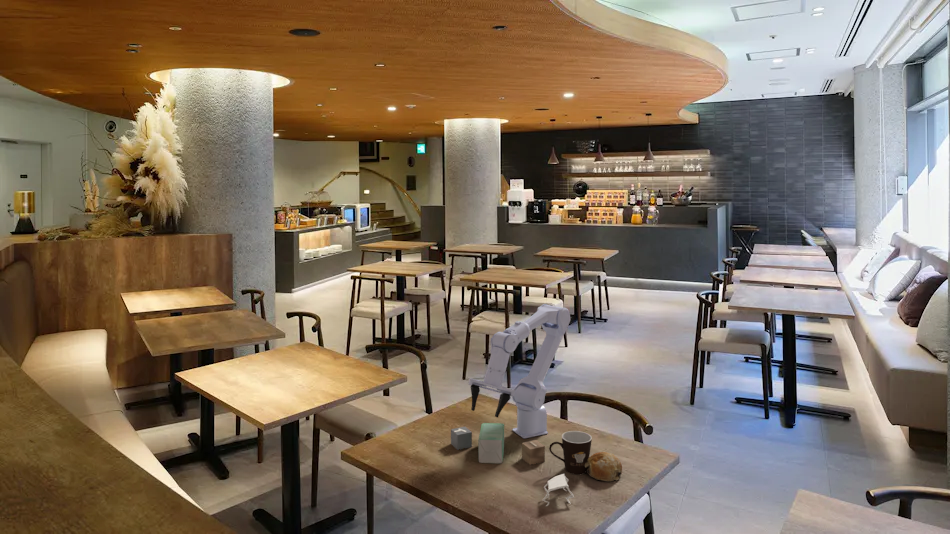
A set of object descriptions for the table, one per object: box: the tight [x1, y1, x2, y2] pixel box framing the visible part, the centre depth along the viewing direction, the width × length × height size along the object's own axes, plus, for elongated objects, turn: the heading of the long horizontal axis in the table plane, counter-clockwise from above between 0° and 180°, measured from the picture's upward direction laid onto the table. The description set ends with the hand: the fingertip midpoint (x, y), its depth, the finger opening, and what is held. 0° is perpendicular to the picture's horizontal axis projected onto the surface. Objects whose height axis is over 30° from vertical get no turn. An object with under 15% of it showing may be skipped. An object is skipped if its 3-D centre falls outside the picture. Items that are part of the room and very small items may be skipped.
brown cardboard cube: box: [521, 439, 546, 466], centre depth 188 cm, size 5×5×5 cm
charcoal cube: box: [450, 426, 473, 451], centre depth 199 cm, size 5×5×5 cm
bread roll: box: [585, 451, 623, 482], centre depth 179 cm, size 10×10×8 cm
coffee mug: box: [548, 430, 593, 476], centre depth 182 cm, size 12×9×10 cm
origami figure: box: [542, 473, 575, 507], centre depth 166 cm, size 12×8×5 cm
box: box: [477, 422, 505, 464], centre depth 193 cm, size 7×14×8 cm, turn 175°
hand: (484, 413), depth 193 cm, fingers open, 7 cm apart
